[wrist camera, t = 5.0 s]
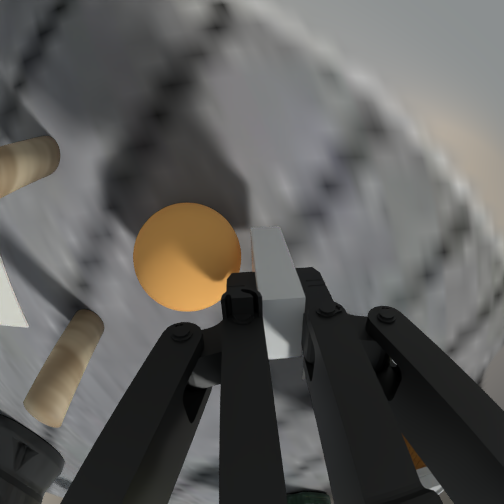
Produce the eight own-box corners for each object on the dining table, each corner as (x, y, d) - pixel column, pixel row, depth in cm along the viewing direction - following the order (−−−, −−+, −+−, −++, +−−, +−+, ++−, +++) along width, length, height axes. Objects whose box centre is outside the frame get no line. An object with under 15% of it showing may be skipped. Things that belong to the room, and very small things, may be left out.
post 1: (33, 178, 16) (-65, 231, 7) (27, 140, 14) (-77, 175, 6) (62, 172, 16) (-39, 224, 7) (57, 131, 14) (-52, 161, 6)
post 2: (81, 335, 21) (37, 422, 13) (70, 309, 20) (16, 396, 12) (108, 336, 21) (68, 430, 13) (98, 309, 20) (47, 404, 12)
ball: (261, 293, 17) (189, 270, 20) (260, 197, 15) (181, 187, 18) (198, 348, 13) (125, 309, 16) (181, 232, 11) (103, 214, 14)
